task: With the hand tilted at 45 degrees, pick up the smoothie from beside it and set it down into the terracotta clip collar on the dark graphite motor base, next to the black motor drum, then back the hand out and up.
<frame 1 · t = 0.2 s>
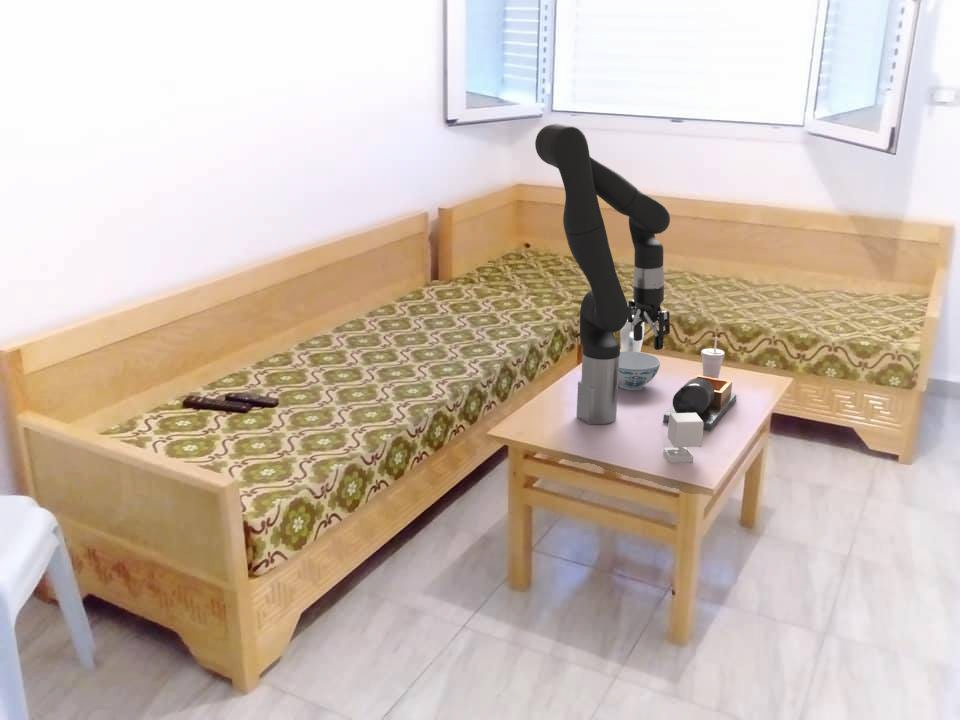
hand: (648, 344, 230), 18 cm above the table, tool pointing down, fingers open, 8 cm apart
security camera: (681, 458, 208), on the table
smoothie: (709, 384, 254), on the table
motor mount: (700, 410, 235), on the table
chinaware: (631, 386, 252), on the table
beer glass: (629, 367, 268), on the table
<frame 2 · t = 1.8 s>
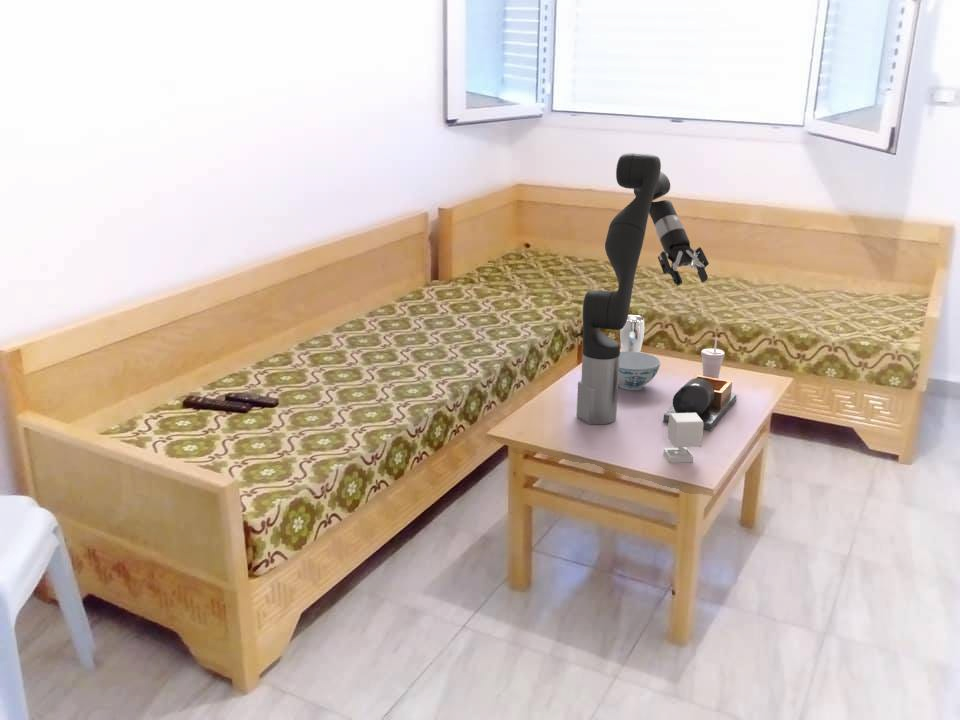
hand: (692, 282, 255), 27 cm above the table, tool tilted 45°, fingers open, 8 cm apart
nothing on the table moved.
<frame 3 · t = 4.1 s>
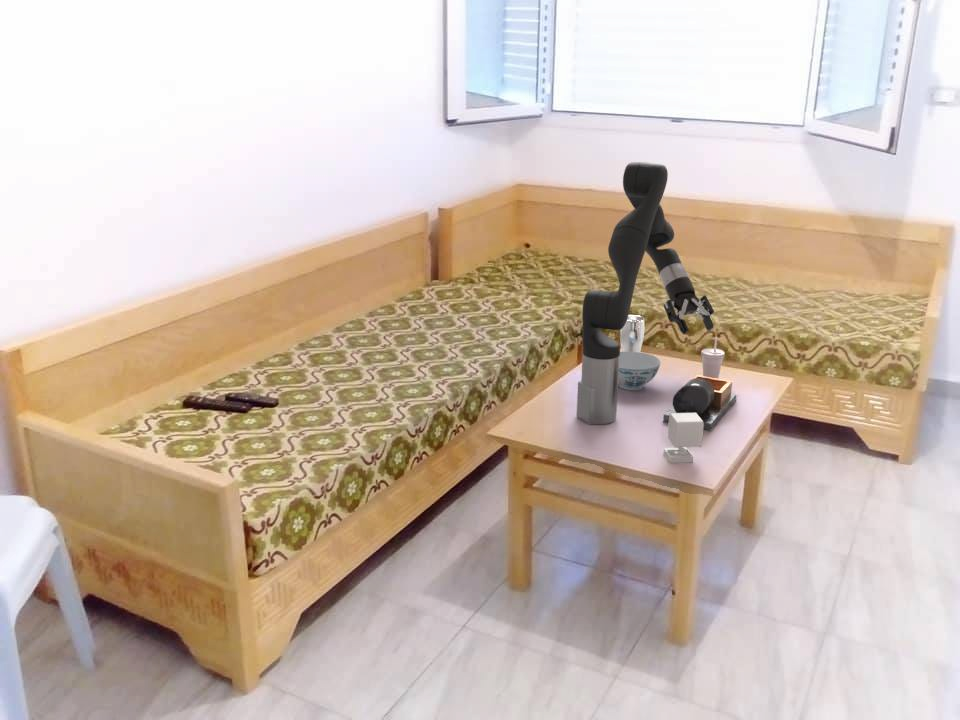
hand: (698, 331, 255), 14 cm above the table, tool tilted 45°, fingers open, 8 cm apart
nothing on the table moved.
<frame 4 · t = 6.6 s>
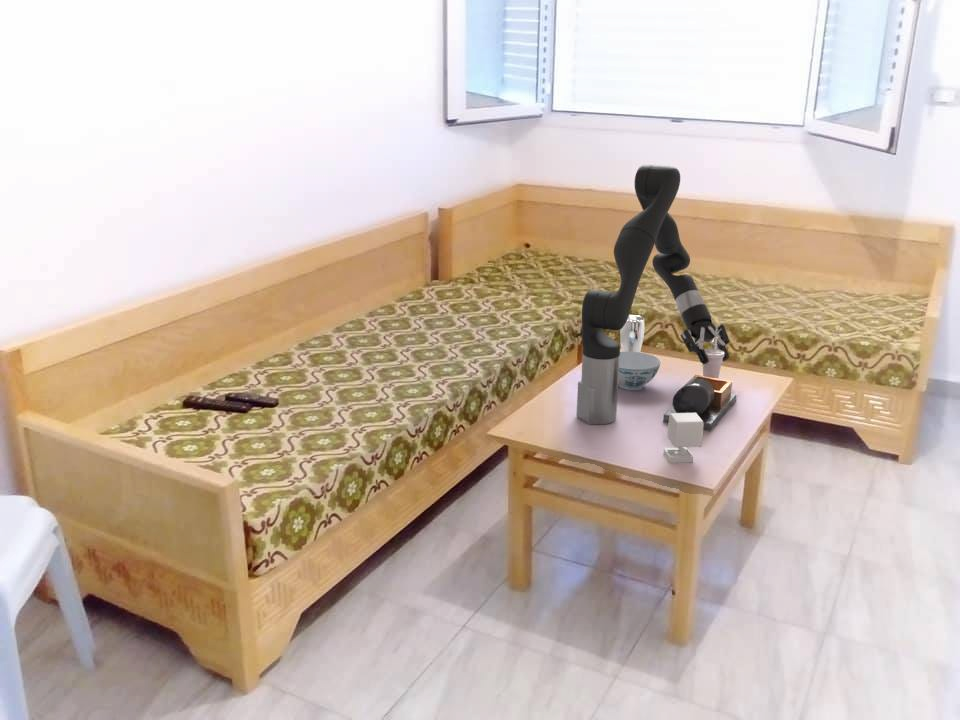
hand: (716, 361, 250), 7 cm above the table, tool tilted 45°, fingers closed on smoothie, 6 cm apart
smoothie: (709, 384, 254), on the table, touching gripper
everything else where it was.
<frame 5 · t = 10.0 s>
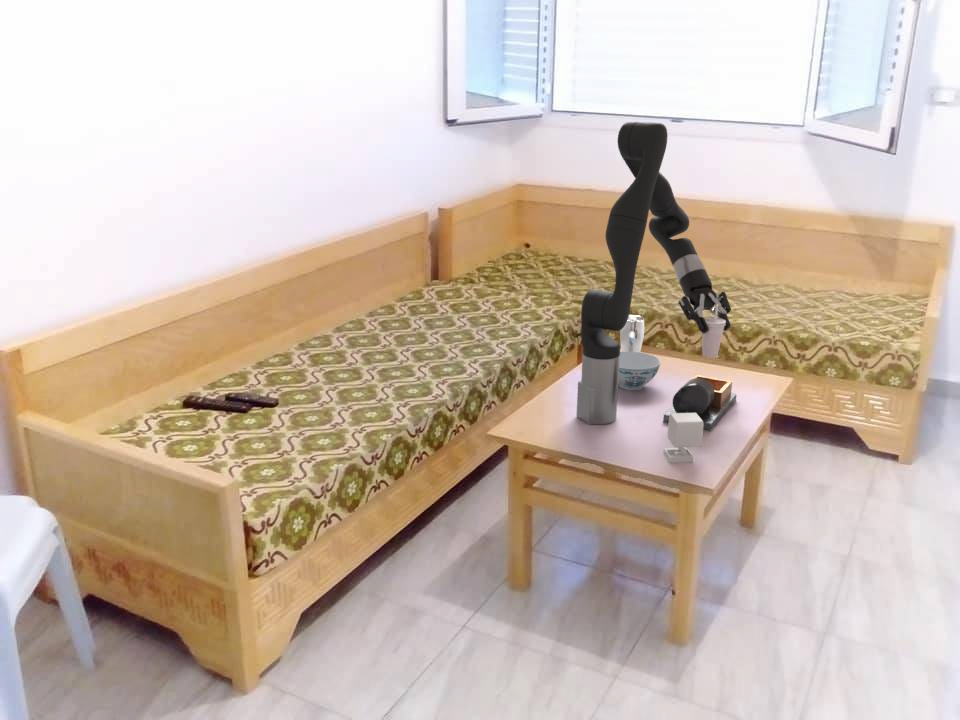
hand: (716, 330, 231), 21 cm above the table, tool tilted 45°, fingers closed on smoothie, 6 cm apart
smoothie: (709, 356, 235), point 13 cm above the table, touching gripper
everything else where it was.
when the fingers open (11 cm above the table, at t = 13.6 s): smoothie drops 1 cm, resting on motor mount.
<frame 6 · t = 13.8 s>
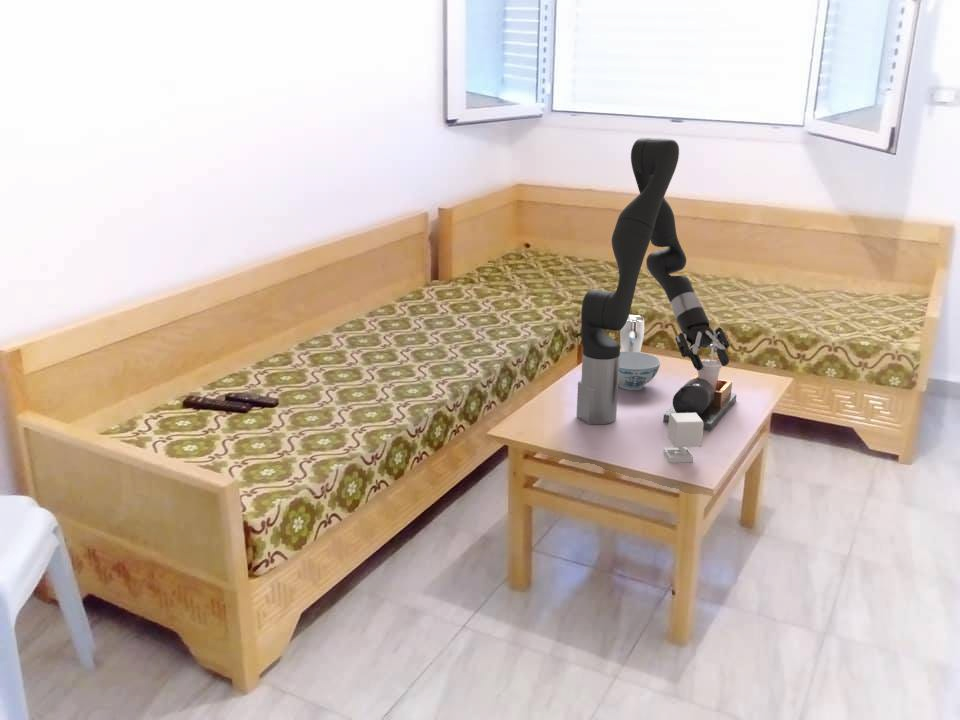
hand: (713, 366, 234), 11 cm above the table, tool tilted 45°, fingers open, 8 cm apart
smoothie: (706, 398, 238), point 2 cm above the table, touching motor mount
everything else where it was.
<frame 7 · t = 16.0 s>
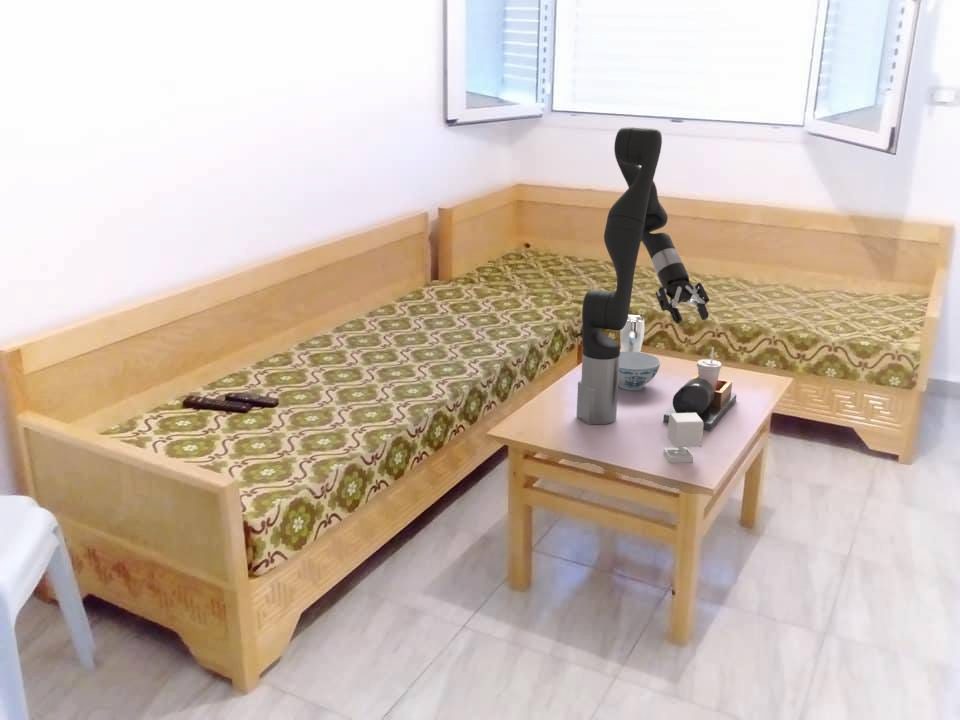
hand: (692, 320, 239), 21 cm above the table, tool tilted 45°, fingers open, 8 cm apart
nothing on the table moved.
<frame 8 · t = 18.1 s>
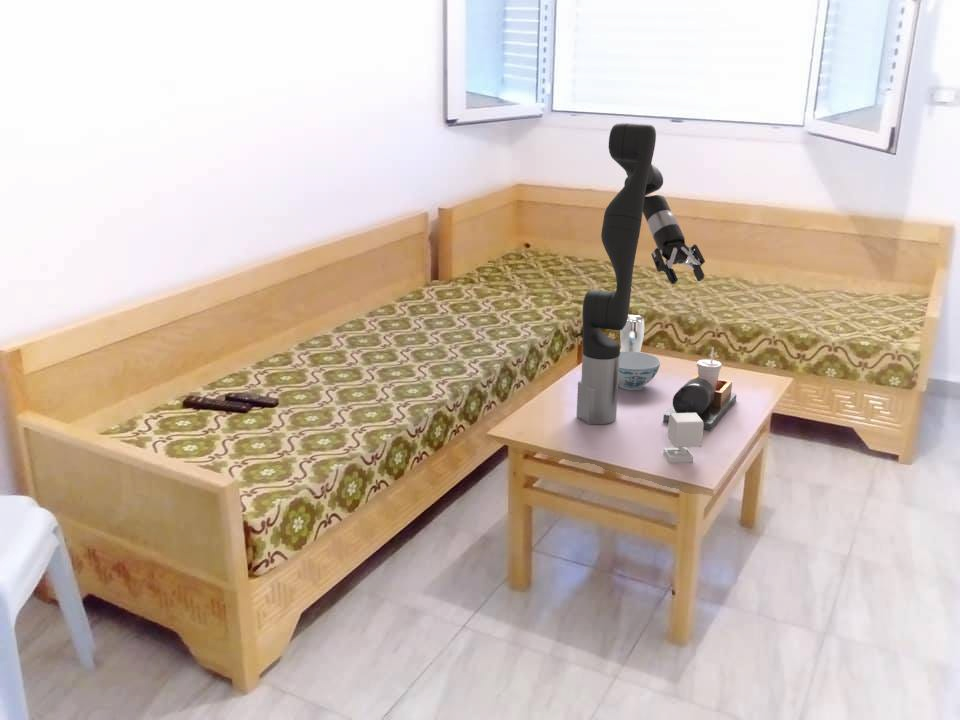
hand: (688, 281, 240), 31 cm above the table, tool tilted 45°, fingers open, 8 cm apart
nothing on the table moved.
at the end: smoothie 0.2 cm from the target spot on the motor mount, point 1.8 cm above the motor mount's base; smoothie tilted 0°; the gripper is holding nothing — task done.
